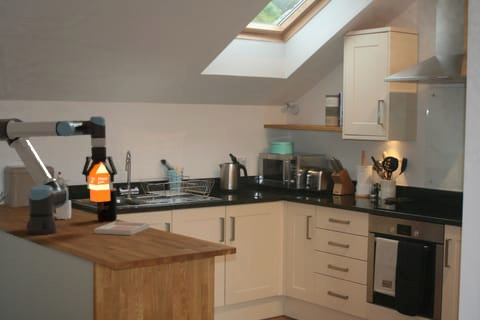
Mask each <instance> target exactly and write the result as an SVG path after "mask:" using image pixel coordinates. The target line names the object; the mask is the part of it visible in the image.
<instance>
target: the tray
mask: <svg viewBox="0 0 480 320" xmlns="http://www.w3.org/2000/svg"><path fill="white" fill-rule="evenodd" d="M147 229H150V223H149V222H135V221H133V222H131V221H111V222H109V223H107V224H104V225H100V226H99V227H96V228H94V234H99V235H100V234H103V235H104V234H105V235H120V236H121V235H123V236H132V235H135V234H137V233H140V232H142V231H145V230H147Z"/></svg>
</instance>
